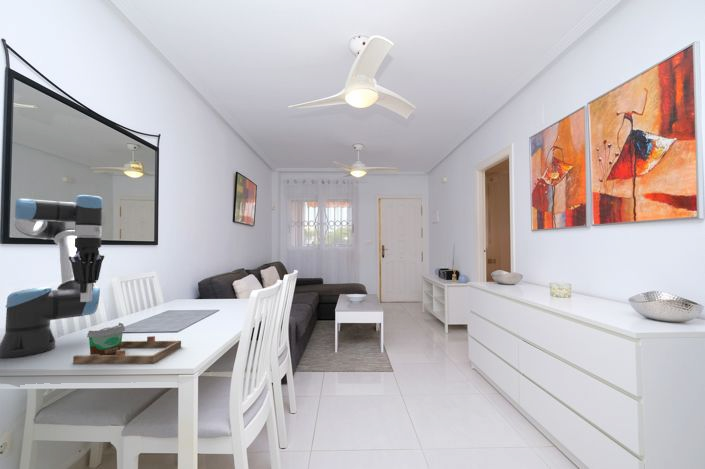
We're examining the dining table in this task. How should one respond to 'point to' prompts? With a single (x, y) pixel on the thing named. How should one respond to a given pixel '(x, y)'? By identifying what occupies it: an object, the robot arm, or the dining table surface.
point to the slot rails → (123, 358)
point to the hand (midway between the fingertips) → (86, 301)
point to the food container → (106, 340)
